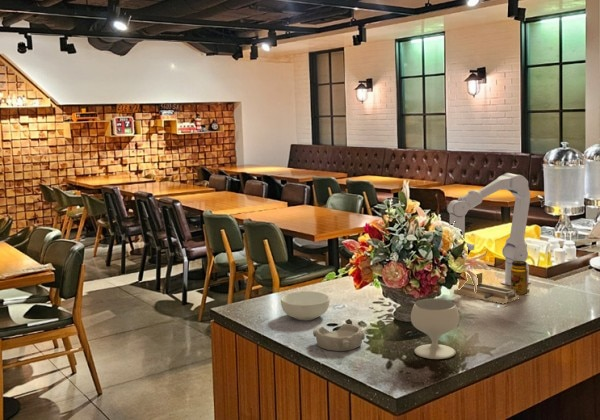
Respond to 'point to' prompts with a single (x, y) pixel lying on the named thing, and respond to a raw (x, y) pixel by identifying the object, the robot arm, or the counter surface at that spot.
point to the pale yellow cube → (479, 276)
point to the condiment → (519, 277)
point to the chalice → (435, 325)
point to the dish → (339, 338)
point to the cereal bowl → (305, 304)
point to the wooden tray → (488, 293)
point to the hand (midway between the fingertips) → (456, 265)
